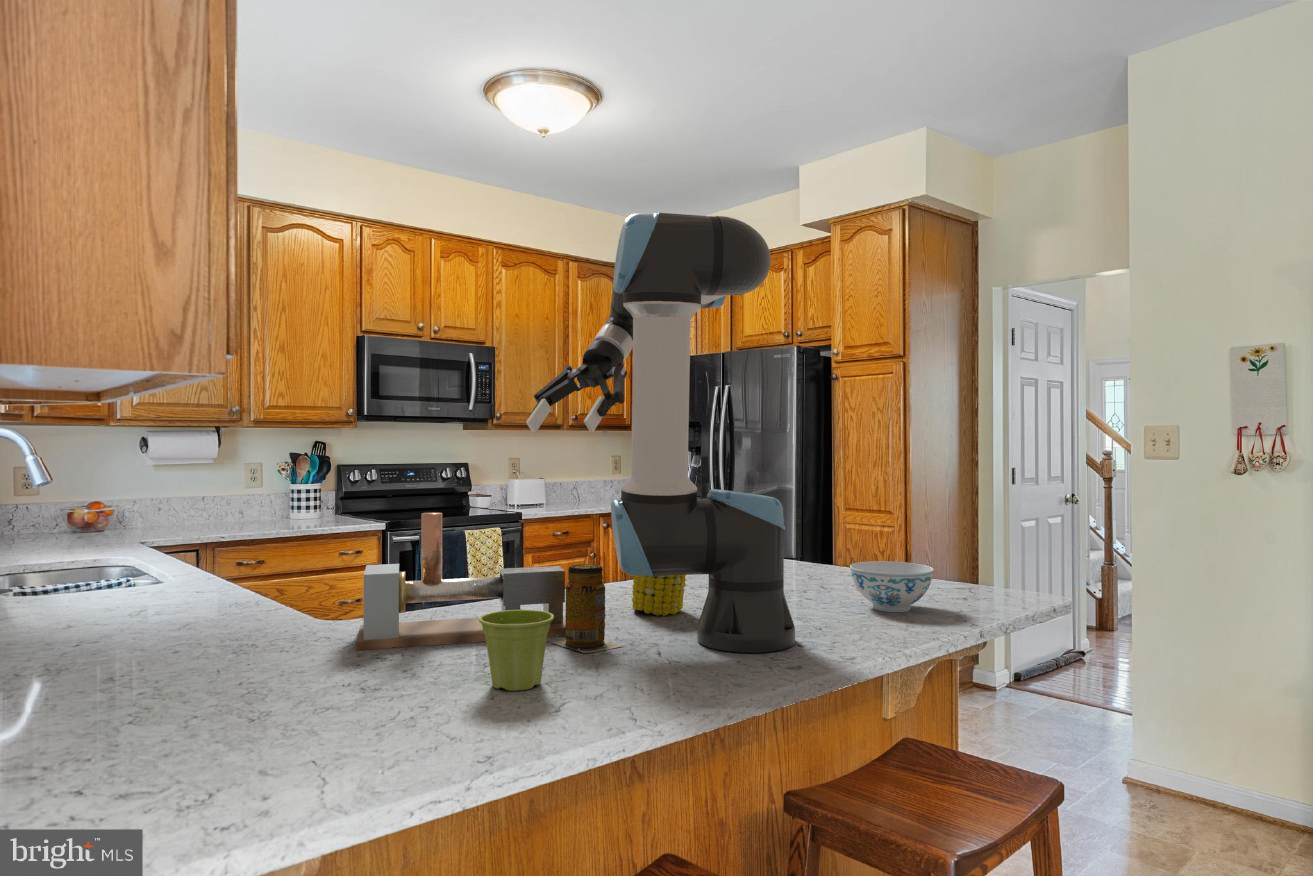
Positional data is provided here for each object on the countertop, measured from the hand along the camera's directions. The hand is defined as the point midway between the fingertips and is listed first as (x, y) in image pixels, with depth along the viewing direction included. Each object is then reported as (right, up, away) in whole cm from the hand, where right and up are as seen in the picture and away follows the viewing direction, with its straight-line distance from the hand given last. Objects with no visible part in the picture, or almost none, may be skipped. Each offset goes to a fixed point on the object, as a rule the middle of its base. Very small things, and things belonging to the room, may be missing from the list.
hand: (558, 427), depth 147 cm
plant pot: (0, -34, -45) cm, 56 cm away
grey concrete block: (-3, -32, -14) cm, 35 cm away
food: (+19, -34, 0) cm, 39 cm away
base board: (-13, -34, -17) cm, 40 cm away
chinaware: (+62, -34, +3) cm, 70 cm away
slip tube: (-16, -30, -18) cm, 38 cm away
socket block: (-25, -32, -21) cm, 46 cm away
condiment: (+7, -34, -25) cm, 42 cm away
